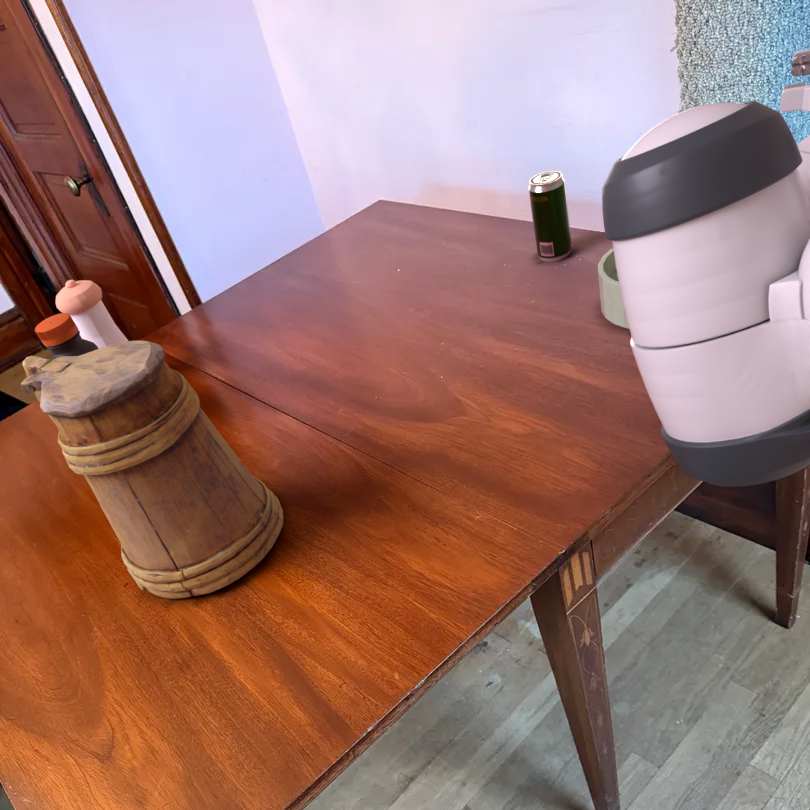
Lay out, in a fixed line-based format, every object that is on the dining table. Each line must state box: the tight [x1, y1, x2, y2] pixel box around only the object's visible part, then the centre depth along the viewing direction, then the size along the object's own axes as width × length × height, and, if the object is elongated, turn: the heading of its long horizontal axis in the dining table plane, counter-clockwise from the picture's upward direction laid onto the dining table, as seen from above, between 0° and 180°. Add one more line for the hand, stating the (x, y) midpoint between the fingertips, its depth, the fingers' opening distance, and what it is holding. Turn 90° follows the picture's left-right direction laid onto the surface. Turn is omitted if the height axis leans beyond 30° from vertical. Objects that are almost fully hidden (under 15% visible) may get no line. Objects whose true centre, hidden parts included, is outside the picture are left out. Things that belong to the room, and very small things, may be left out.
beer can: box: [528, 170, 573, 263], centre depth 115 cm, size 5×5×12 cm
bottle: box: [34, 312, 99, 360], centre depth 105 cm, size 7×7×20 cm
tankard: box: [20, 340, 285, 600], centre depth 81 cm, size 18×24×25 cm
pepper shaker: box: [55, 279, 129, 349], centre depth 118 cm, size 7×7×19 cm
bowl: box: [597, 247, 630, 330], centre depth 99 cm, size 15×15×6 cm
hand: (786, 81), depth 70 cm, fingers open, 8 cm apart
